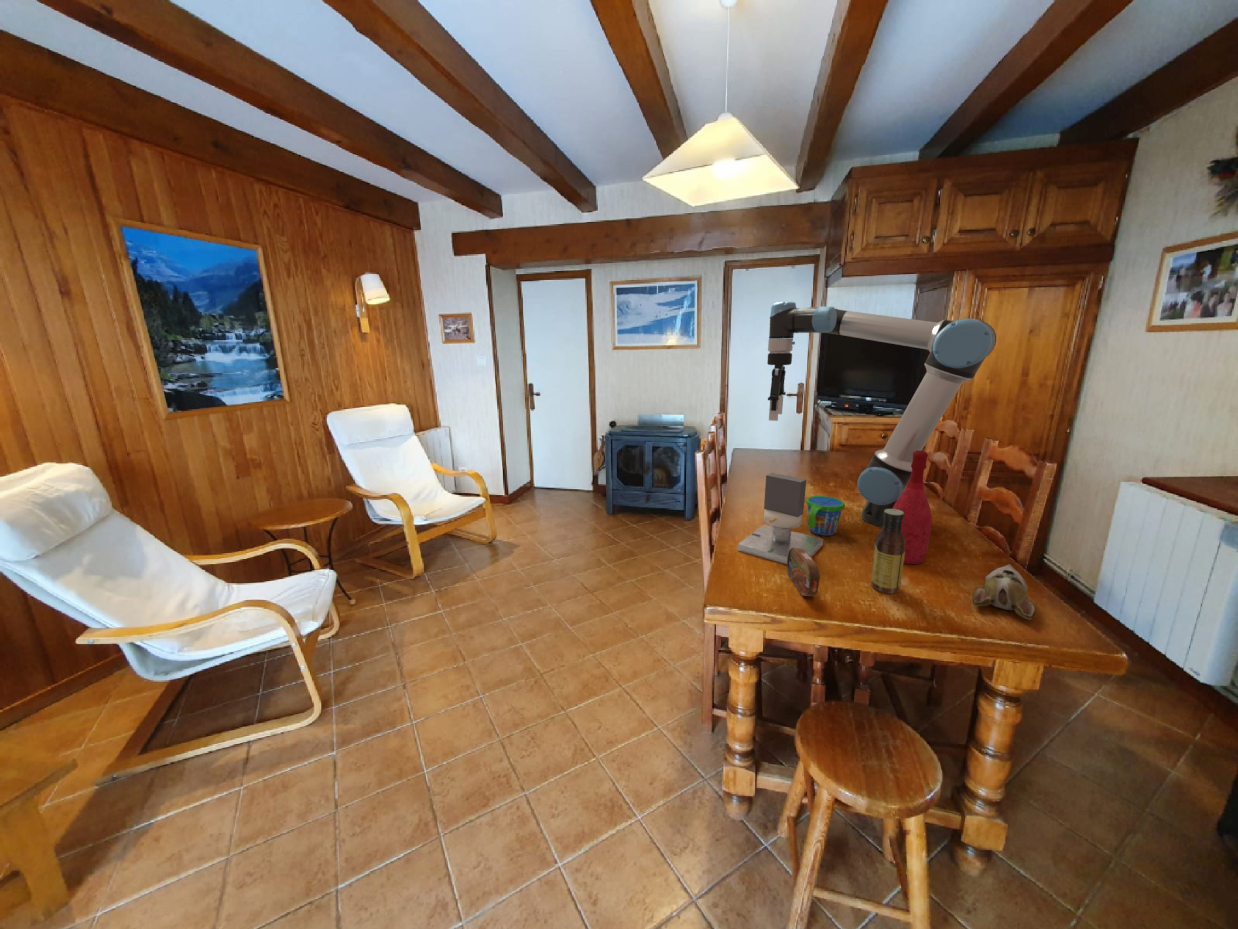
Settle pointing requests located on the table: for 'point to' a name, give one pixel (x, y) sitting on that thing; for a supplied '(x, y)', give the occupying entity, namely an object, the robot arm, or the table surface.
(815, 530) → the snack cup
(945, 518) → the table surface
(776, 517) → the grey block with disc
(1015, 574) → the ceramic sculpture
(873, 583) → the sauce bottle
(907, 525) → the wine bottle
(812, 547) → the base
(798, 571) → the tin
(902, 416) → the robot arm
